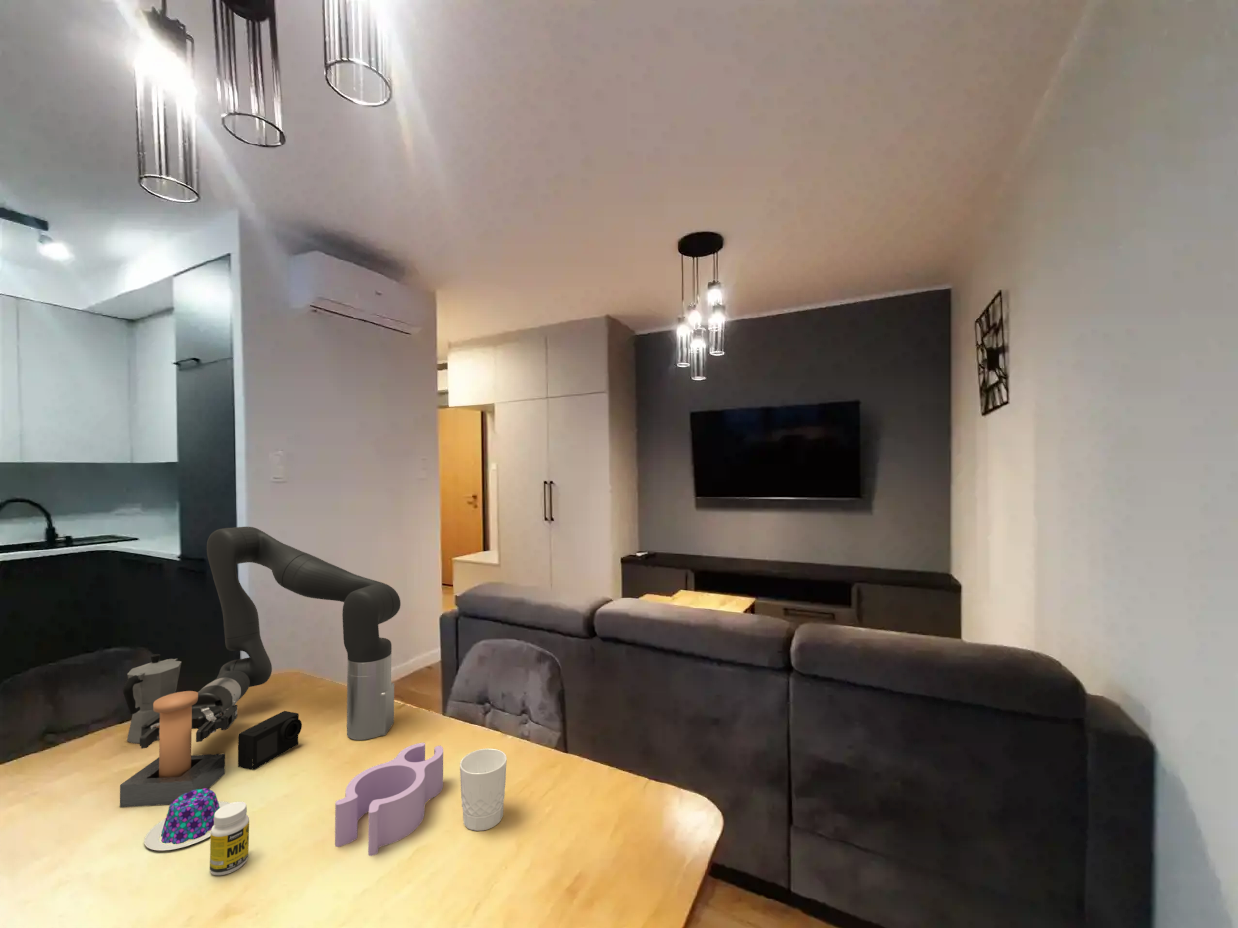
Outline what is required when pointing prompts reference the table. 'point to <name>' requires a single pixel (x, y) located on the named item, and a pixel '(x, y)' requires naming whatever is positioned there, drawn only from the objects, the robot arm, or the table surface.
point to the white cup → (483, 788)
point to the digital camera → (268, 740)
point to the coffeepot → (148, 691)
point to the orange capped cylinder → (175, 732)
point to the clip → (390, 797)
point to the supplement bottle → (229, 838)
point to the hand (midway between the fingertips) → (171, 740)
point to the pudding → (185, 820)
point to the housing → (170, 782)
